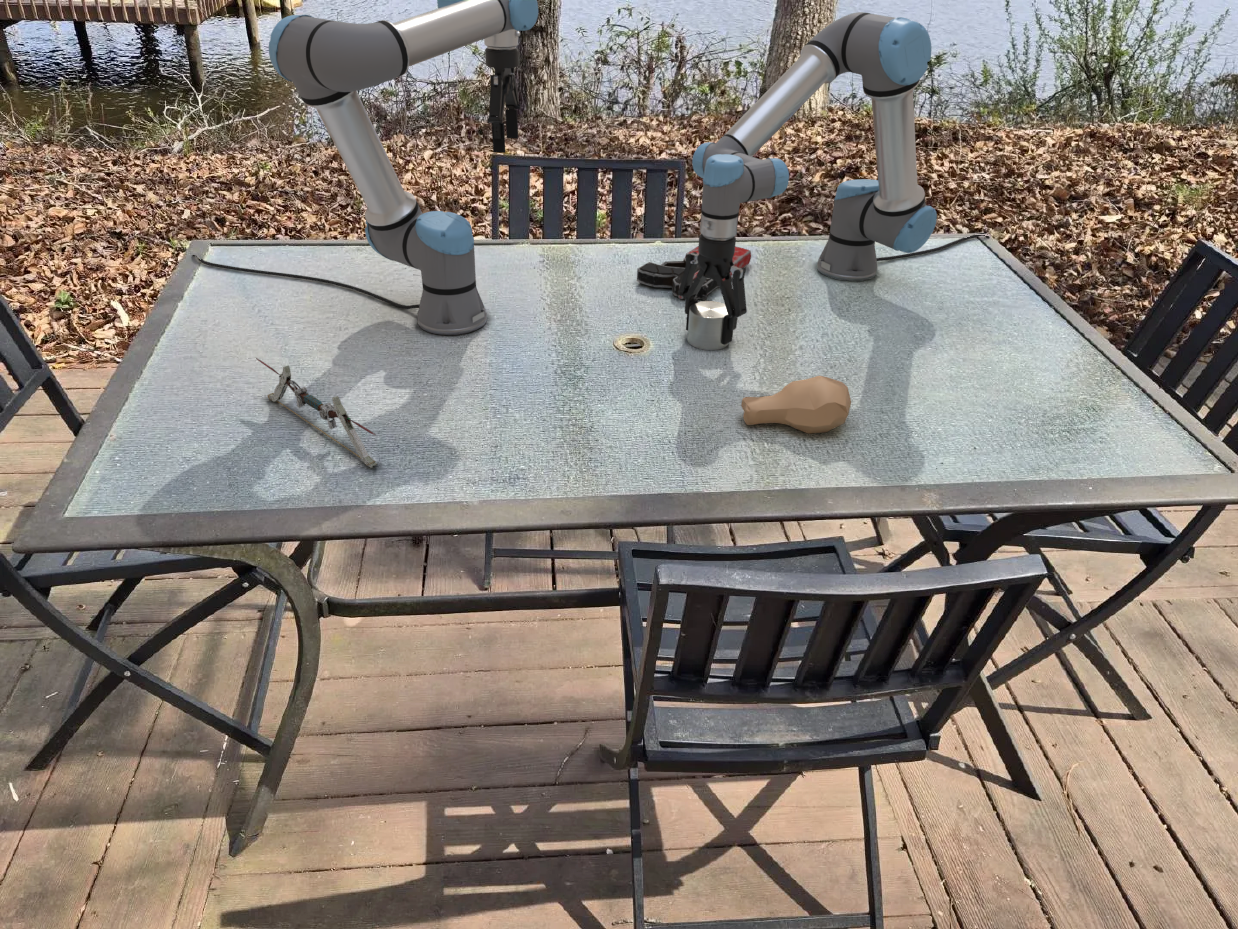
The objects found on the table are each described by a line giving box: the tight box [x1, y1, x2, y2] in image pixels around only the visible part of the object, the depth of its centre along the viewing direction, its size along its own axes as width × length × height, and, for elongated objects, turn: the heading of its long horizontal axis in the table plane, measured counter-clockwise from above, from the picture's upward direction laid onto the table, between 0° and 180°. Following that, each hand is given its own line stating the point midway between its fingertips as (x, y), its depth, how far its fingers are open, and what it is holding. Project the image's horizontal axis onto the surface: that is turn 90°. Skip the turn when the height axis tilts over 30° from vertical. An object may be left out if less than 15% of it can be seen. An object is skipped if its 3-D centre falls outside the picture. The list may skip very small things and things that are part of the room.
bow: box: [255, 357, 378, 469], centre depth 154 cm, size 39×2×10 cm, turn 47°
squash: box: [740, 375, 852, 434], centre depth 161 cm, size 11×20×9 cm, turn 90°
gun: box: [636, 245, 752, 301], centre depth 222 cm, size 4×31×19 cm
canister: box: [686, 300, 730, 351], centre depth 190 cm, size 9×9×8 cm
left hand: (506, 144), depth 209 cm, fingers open, 13 cm apart
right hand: (708, 335), depth 191 cm, fingers closed on canister, 9 cm apart
